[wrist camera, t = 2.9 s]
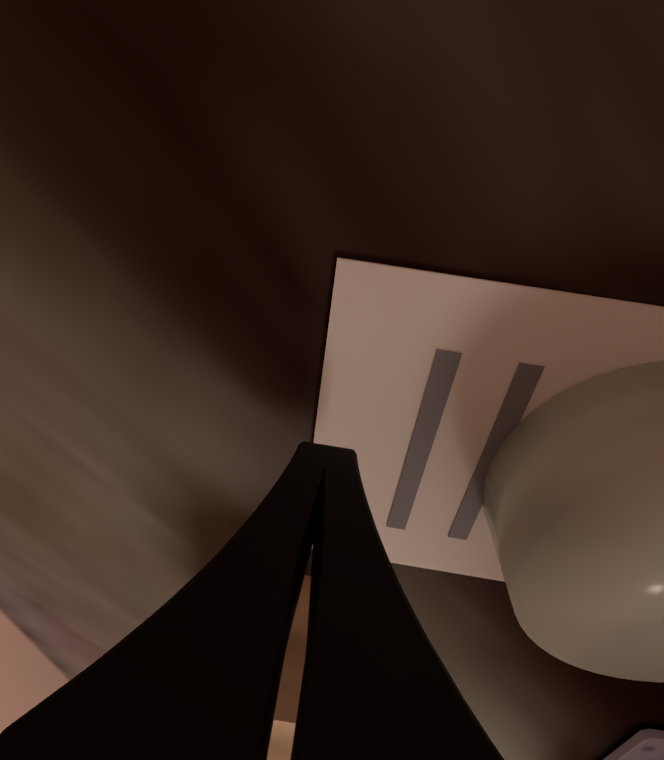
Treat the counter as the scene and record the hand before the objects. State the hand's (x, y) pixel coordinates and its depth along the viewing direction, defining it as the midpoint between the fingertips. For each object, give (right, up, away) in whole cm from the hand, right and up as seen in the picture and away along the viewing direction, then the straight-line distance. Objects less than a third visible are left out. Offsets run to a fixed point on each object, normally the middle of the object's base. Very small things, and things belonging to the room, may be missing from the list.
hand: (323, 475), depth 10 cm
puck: (+9, -1, +1) cm, 9 cm away
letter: (+7, 0, +1) cm, 7 cm away
